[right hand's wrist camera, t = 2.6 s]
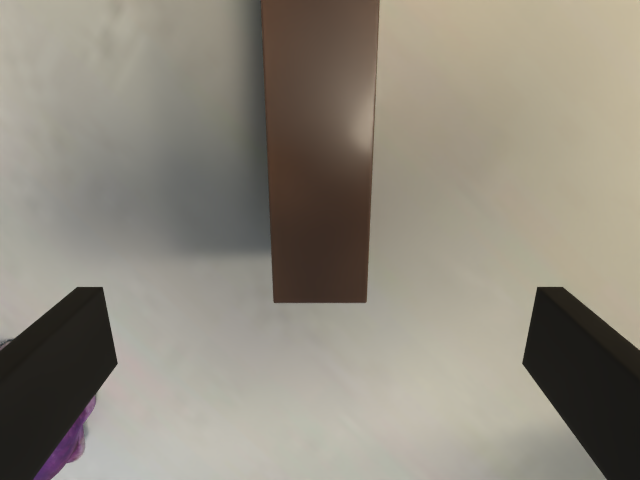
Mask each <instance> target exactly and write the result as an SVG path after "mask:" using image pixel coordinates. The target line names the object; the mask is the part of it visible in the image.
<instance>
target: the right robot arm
mask: <svg viewBox="0 0 640 480" xmlns="http://www.w3.org/2000/svg"><path fill="white" fill-rule="evenodd" d="M117 364H118V363H117V358H116V353H115V347H114V342H113V337H112V332H111V327H110V322H109V317H108V312H107V307H106V302H105V297H104V292H103V287H77V288H76V289H74V290H73V291H72V292H71V293H69V294H68V295H67V296H66V297H65V298H63V299H62V300H61V301H60V302H59V303H57V304H56V305H55V306H54V307H52V308H51V309H50V310H49V311H48V312H46V313H45V314H44V315H43V316H42V317H40V318H39V319H38V320H37V321H35V322H34V323H33V324H32V325H31V326H29V327H28V328H27V329H26V330H25V331H23V332H22V333H21V334H20V335H19V336H17V337H16V338H15V339H14V340H12V341H11V342H10V343H9V344H8V345H6V346H5V347H4V348H3V349H2V350H0V480H33V479H34V477H35V476H36V475H37V473H38V472H39V471H40V469H41V468H42V467H43V465H44V464H45V462H46V461H47V460H48V458H49V457H50V456H51V454H52V453H53V451H54V450H55V449H56V447H57V446H58V445H59V443H60V442H61V441H62V439H63V438H64V436H65V435H66V434H67V432H68V431H69V430H70V428H71V427H72V425H73V424H74V423H75V421H76V420H77V419H78V417H79V416H80V415H81V413H82V412H83V410H84V409H85V408H86V406H87V405H88V404H89V402H90V401H91V399H92V398H93V397H94V395H95V394H96V393H97V391H98V390H99V389H100V387H101V386H102V384H103V383H104V382H105V380H106V379H107V378H108V376H109V375H110V373H111V372H112V371H113V369H114V368H115V367H116V365H117ZM522 364H523V365H524V367H525V368H526V369H527V371H528V372H529V373H530V375H531V376H532V378H533V379H534V380H535V382H536V383H537V384H538V386H539V387H540V389H541V390H542V391H543V393H544V394H545V395H546V397H547V398H548V399H549V401H550V402H551V404H552V405H553V406H554V408H555V409H556V410H557V412H558V413H559V415H560V416H561V417H562V419H563V420H564V421H565V423H566V424H567V425H568V427H569V428H570V430H571V431H572V432H573V434H574V435H575V436H576V438H577V439H578V441H579V442H580V443H581V445H582V446H583V447H584V449H585V450H586V451H587V453H588V454H589V456H590V457H591V458H592V460H593V461H594V462H595V464H596V465H597V467H598V468H599V469H600V471H601V472H602V473H603V475H604V476H605V477H606V479H607V480H640V350H638V349H637V348H636V347H635V346H634V345H632V344H631V343H630V342H629V341H628V340H626V339H625V338H624V337H623V336H621V335H620V334H619V333H618V332H617V331H615V330H614V329H613V328H612V327H611V326H609V325H608V324H607V323H606V322H605V321H603V320H602V319H601V318H600V317H598V316H597V315H596V314H595V313H594V312H592V311H591V310H590V309H589V308H588V307H586V306H585V305H584V304H583V303H581V302H580V301H579V300H578V299H577V298H575V297H574V296H573V295H572V294H571V293H569V292H568V291H567V290H566V289H564V288H563V287H537V292H536V297H535V302H534V307H533V312H532V317H531V322H530V327H529V332H528V337H527V342H526V347H525V353H524V358H523V363H522Z"/></svg>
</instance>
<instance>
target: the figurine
mask: <svg viewBox="0 0 640 480" xmlns="http://www.w3.org/2000/svg"><path fill="white" fill-rule="evenodd" d="M10 342H11V341H9V342H7V343H5V344H4V345H3V346H1V347H0V350H2V349H3V348H4V347H5V346H6V345H8V344H9V343H10ZM95 403H96V399H95V395H94V397H93V398H92V399H91V401H90V402H89V404H88V405H87V406H86V408H85V409H84V410H83V412H82V413H81V415H80V416H79V417H78V419H77V420H76V421H75V423H74V424H73V425H72V427H71V428H70V430H69V431H68V432H67V434H66V435H65V436H64V438H63V439H62V441H61V442H60V443H59V445H58V446H57V447H56V449H55V450H54V451H53V453H52V454H51V456H50V457H49V458H48V460H47V461H46V462H45V464H44V465H43V467H42V468H41V469H40V471H39V472H38V473H37V475H36V476H35V477H34V479H33V480H50V479H52V478H53V477H54V476H55V475H56V474H57V473H58V472H59V471H60V470H61V469H62V468H63V467H64V465H65V464H66V463H71V462H74V461H76V460H78V459H79V458H80V457H81V456H82V455H83V453H84V450H85V438H84V431H83V423H84V422H85V421H86V419H87V418H88V416H89V415H90V414H91V412H92V410H93V409H94V406H95Z"/></svg>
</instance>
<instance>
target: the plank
mask: <svg viewBox="0 0 640 480" xmlns="http://www.w3.org/2000/svg"><path fill="white" fill-rule="evenodd" d="M379 3H380V0H261V19H262V43H263V66H264V90H265V113H266V137H267V160H268V184H269V208H270V231H271V255H272V278H273V301H274V303H366V302H367V282H368V259H369V236H370V212H371V189H372V166H373V143H374V119H375V96H376V73H377V50H378V26H379Z"/></svg>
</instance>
